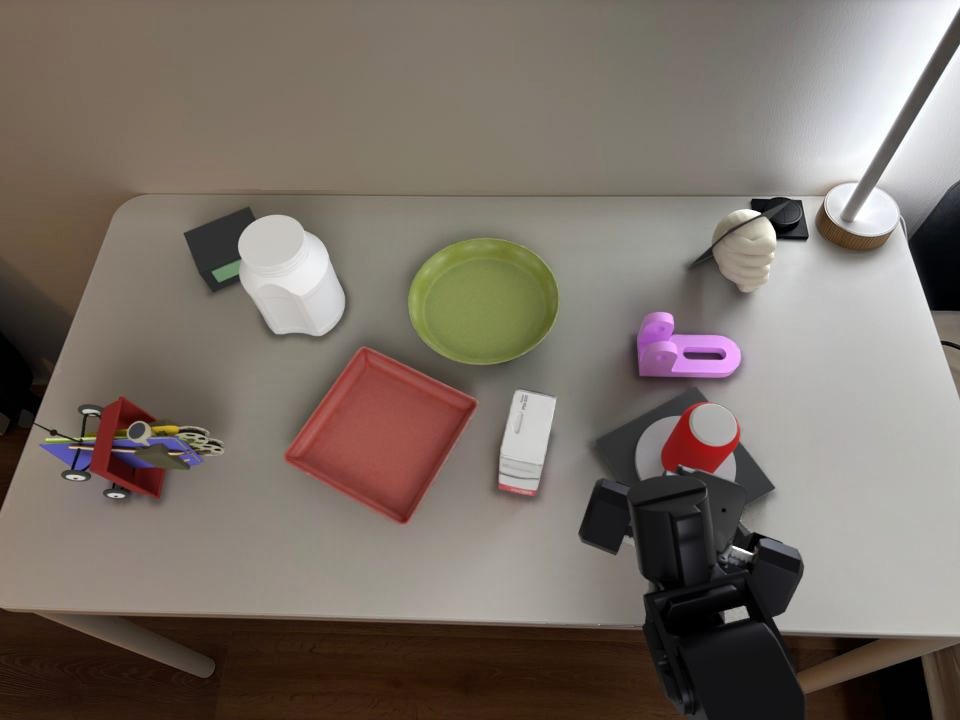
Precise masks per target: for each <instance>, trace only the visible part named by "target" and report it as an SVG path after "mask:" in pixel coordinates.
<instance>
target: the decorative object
mask: <svg viewBox="0 0 960 720" xmlns="http://www.w3.org/2000/svg"><path fill="white" fill-rule="evenodd" d="M793 200H794V198H792V199H789V200H787V201H785V202H783V203H781V204H779V205H777V206H775V207H773V208H771V209H769V210H767V211H764V212H762V213H761V212H758V211H757V210H752V209H739V210H734V211H732V212H730V213H728V214H727V215H726V216H724V217H723V218H722V219H721V220H720V221H719V223H718V224H717V225H716V227H715V229H714V231H713V233H712V238H711V246H709V248H707V249H706V250H705V251H704V252H703V253H702V254H701V255H700V256H699V257H698V258H696V259H695V261H693V263H691V264H690V265H689V267H692V266H694V265H696V264H698V263H700V262H703V261H704V260H706V259H708V258H711V257H712V256H713V258H714V260H715V262H716V263H717V265H718V270H719V272H720V273H721V274H722V276H723V277H725V278H726V279H727V280H729V281H731V282H733V283H735V285H736V287H737V288H738V290H739V291H740V292H742V293H750V292H753V291H755V290H758V289H760V288H761V286H762V285H763V286H764V284H767V282H768V281H769V277H770V276H769V273H770V271H771V265H770V264H772V263H773V262H774V260H775V252H776V248H777V236H776V230H775V229H774V227H773V225H772V223H771V221H770V219H771V218H773V217H774V216H775V215H776V214H777V213H779V212H780V211H781V210H782V209H783V208H784V207H786V206H787V205H788V204H790V202H792V201H793Z"/></svg>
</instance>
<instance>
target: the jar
mask: <svg viewBox="0 0 960 720" xmlns="http://www.w3.org/2000/svg"><path fill="white" fill-rule="evenodd" d="M238 250H239V253H240V256H241V258H242V260H241V263H240V267H239V276H240V281H239V282H240V283H241V285H242V287H243V288H244V290H245V292H246V293H247V295H249V296H250V298H251V300H252V301H253V303H254V305H255V307H257V309H258V311H259V312H260V314H261V315H262V317H263V320H264V322H265V323H266V324H267V326H268V327H269V329H270V331H272V333H274V334H275V335H285V334H297V333H298V334H304V335H305V334H306V335H310V336H312V337H322V336H324V335H326V334H327V333H329V332H330V331H331V330H333V328H334V327H336V325H337V324H338V323H339V321H340V320H341V318H342V317H343V315H344V312H345V308H346V296H345V292H344V289H343V287H342V285H341V283H340V282H339V279H338V277H337V273H336V271H335V269H334V267H333V265H332V261H331V259H330V255H329V253H328V250H327V247H326V246H325V244H324V243H323V241H322V240H321V239H320V238H319V237H317V236H316V235H314V234H313V233H311V232H309V231H306V230H304V227H303V226H302V225H301V223H300V222H299V221H298V220H297V219H295V218H293V217H291V216H288V215H284V214H271V215H266V216H263V217H260V218H257V219H256V221H254V222H253V223H251V224H250V225H249V226H248V227H247V228H246V229H245V230H244V231H243V233H242V234H241V236H240V239H239V242H238Z"/></svg>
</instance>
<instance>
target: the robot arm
mask: <svg viewBox="0 0 960 720" xmlns="http://www.w3.org/2000/svg"><path fill="white" fill-rule="evenodd" d="M746 500H747V493H746V490H745V489H744V488H743V487H742V486H741V485H739V484H737V483H735V482H734V481H732V480H729V479H726V478H723V477H720V476H717V475H715V474H712V473H709V472H706V471H703V470H701V469H697V468H693V469H691V468H688V467H685V466H683V465H680V464H678V466H677V468H676V470H675V471H674V472H671V471H668V470H664V472H663V474H662V476H657V477H652V478H648V479H645V480H642V481H640V482H638V483H636V484H634V485H633V486H632V487H631V486H629V485H626V484H623V483H620V482H617V480H616V481H615V480H614V481H613V480H611V479H609V478H606V477H602V478H600V479H597V480H595V482H594V485H593V489H592V491H591V495H590V497H589V500H588V503H587V506H586V509H585V512H584V514H583V517H582V520H581V523H580V526H579V529H578V532H577V535H578V538H579V540H580V543H582V544H585V545H586V546H587V545H588V546H590V547H592V548H596V549H597V550H600V551H603V552H605V553H608V554H610V555H613V556H617V555H618V553H619V551H620V549H621V546H622V544H626V545H628V546H631V547H633V548H635V554H636V560H637V567H638V571H639V574H640V575H641V576H642V577H643V578H644V579H645V580H647V581H648V588H647V591H646V593H644V594H642V600H643V606H644V613H645V615H644V616H645V618H644V623H643V624H642V625H641V629H642V632H643V635H644V638H645V641H646V644H647V648H648V650H649V653H650V656H651V659H652V663H653V665H654V668H655V671H656V675H657V677H658V680H659V684H660V686H661V690H662V692H663V694H664V697H665V698H666V699H667V700H668V701H671V702H672V704H673V705H674V707H675V709H676V711H677V712H678V714H679V715H680V716H686V717H687V719H688V720H807V703H808V702H807V701H808V700H807V696H806V693H805V691H804V689H803V688H802V685H801V683H800V681H799V679H798V674H797V668H796V665H795V661H794V658H793V656H792V654H791V652H790V649H789V647H788V646H787V645H788V644H786V642H785V639H784V638H783V636H782V633H781V632H780V630H779V628H778V626H777V624H776V621H775V620H774V618H775V617H778V616H780V615H782V614H784V613H786V611H787V609H788V607H789V605H790V603H791V601H792V599H793V596H794V595H795V592H796V590H797V589H798V587H799V584H800V582H801V580H802V579H803V577H804V572H805V564H804V560H803V557H802V555H801V552H800V551H799V549H798V548H795V547H793V546H790V545H788V544H785V543H784V542H782V541H780V540H778V539H775V538H773V537H770V536H767V535H765V534H762V533H759V532H756V531H752V532H750V530H749V529H748V528H747V527H745V525H744V524H742V522H741V518H742V516H743V515H742V514H743V511H744V509H745V508H744V506H745V503H746ZM742 607H745V610H746V612H747V615H748V617H746V618H741V619H737V620H734V621H733V620H732V621H730V622H729V621H728V622H726V614H725V612H726V611H729V610H734V609H738V608H742Z"/></svg>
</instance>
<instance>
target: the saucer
mask: <svg viewBox="0 0 960 720" xmlns="http://www.w3.org/2000/svg"><path fill="white" fill-rule="evenodd" d="M560 303H561V297H560V289H559V284H558V281H557V279H556V277H555V274H554V273H553V271H552V270H551V268H550V266H549V265H548V264H547V263H546V262H545V261H544V260H543V259H542V257H540V256H539V255H538V254H537V253H535V252H534V251H532V250H530V249H529V248H527V247H526V246H524V245H521V244H520V243H516V242H513V241H510V240H506V239H502V238H494V237H493V238H492V237H479V238H471V239H465V240H462V241H458V242H454V243H453V244H450V245H448V246H446V247H444V248H442V249H440V250H439V251H437V252H436V253H434V254H433V255H431V256H430V257H429V258H427V260H426V261H425V262H423V264H422V265H421V266H420V268H419V269H418V271H417V273H416V274H415V275H414V278H413V280H412V281H411V284H410V287H409V291H408V298H407V311H408V315H409V319H410V322H411V325H412V327H413V329H414V331H415V332H416V334H417V335H418V336H419V338H420V339H421V340H422V341H423V343H424V344H426V345H427V346H428V347H429V348H430V349H431V350H432V351H434V352H436V353H438V354H439V355H441V356H442V357H444V358H447V359H449V360H452V361H454V362H457V363H461V364H467V365H474V366H490V365H497V364H501V363H507V362H510V361H513V360H515V359H517V358H520V357H522V356H524V355H526V354H527V353H529V352H531V351H532V350H533V349H534V348H536V347H537V346H538V345H540V344H541V343H542V341H544V340H545V338H546V337H547V336H548V335H549V334H550V332H551V330H552V329H553V327H554V325H555V323H556V321H557V318H558V315H559V311H560Z"/></svg>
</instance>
